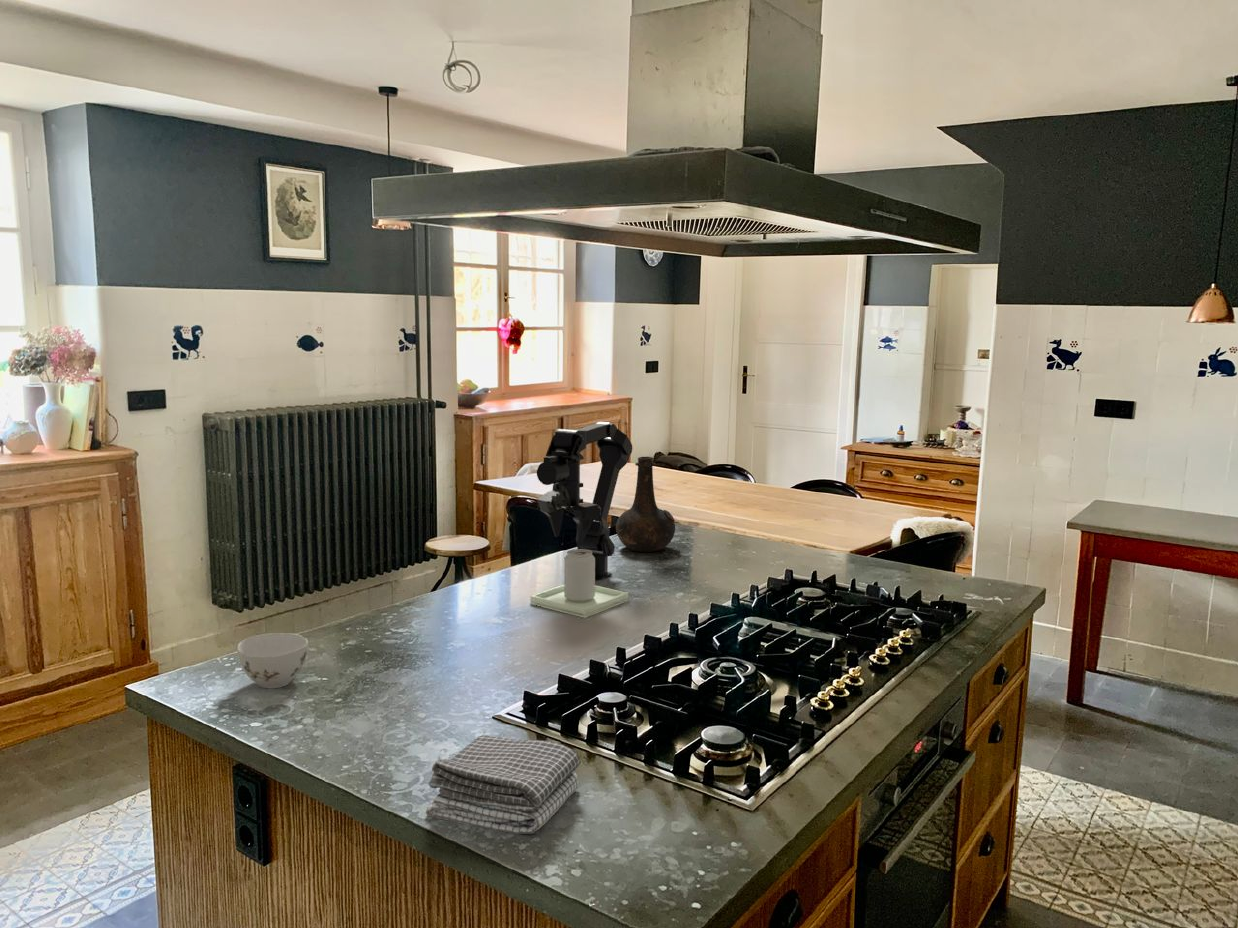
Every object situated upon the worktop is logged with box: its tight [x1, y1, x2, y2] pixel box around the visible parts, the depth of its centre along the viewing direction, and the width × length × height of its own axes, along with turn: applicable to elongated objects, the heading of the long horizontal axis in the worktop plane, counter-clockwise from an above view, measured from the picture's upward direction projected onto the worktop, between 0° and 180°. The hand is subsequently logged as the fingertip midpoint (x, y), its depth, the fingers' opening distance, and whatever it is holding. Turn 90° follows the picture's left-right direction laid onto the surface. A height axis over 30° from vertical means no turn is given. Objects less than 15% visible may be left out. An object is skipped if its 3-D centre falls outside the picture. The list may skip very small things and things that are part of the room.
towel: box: [425, 734, 582, 835], centre depth 134 cm, size 15×18×8 cm
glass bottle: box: [615, 456, 676, 553], centre depth 280 cm, size 18×18×28 cm
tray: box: [529, 584, 629, 619], centre depth 228 cm, size 17×17×2 cm
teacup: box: [237, 632, 309, 689], centre depth 177 cm, size 15×12×8 cm
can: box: [563, 548, 596, 603], centre depth 227 cm, size 8×8×12 cm
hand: (568, 539), depth 237 cm, fingers open, 9 cm apart
